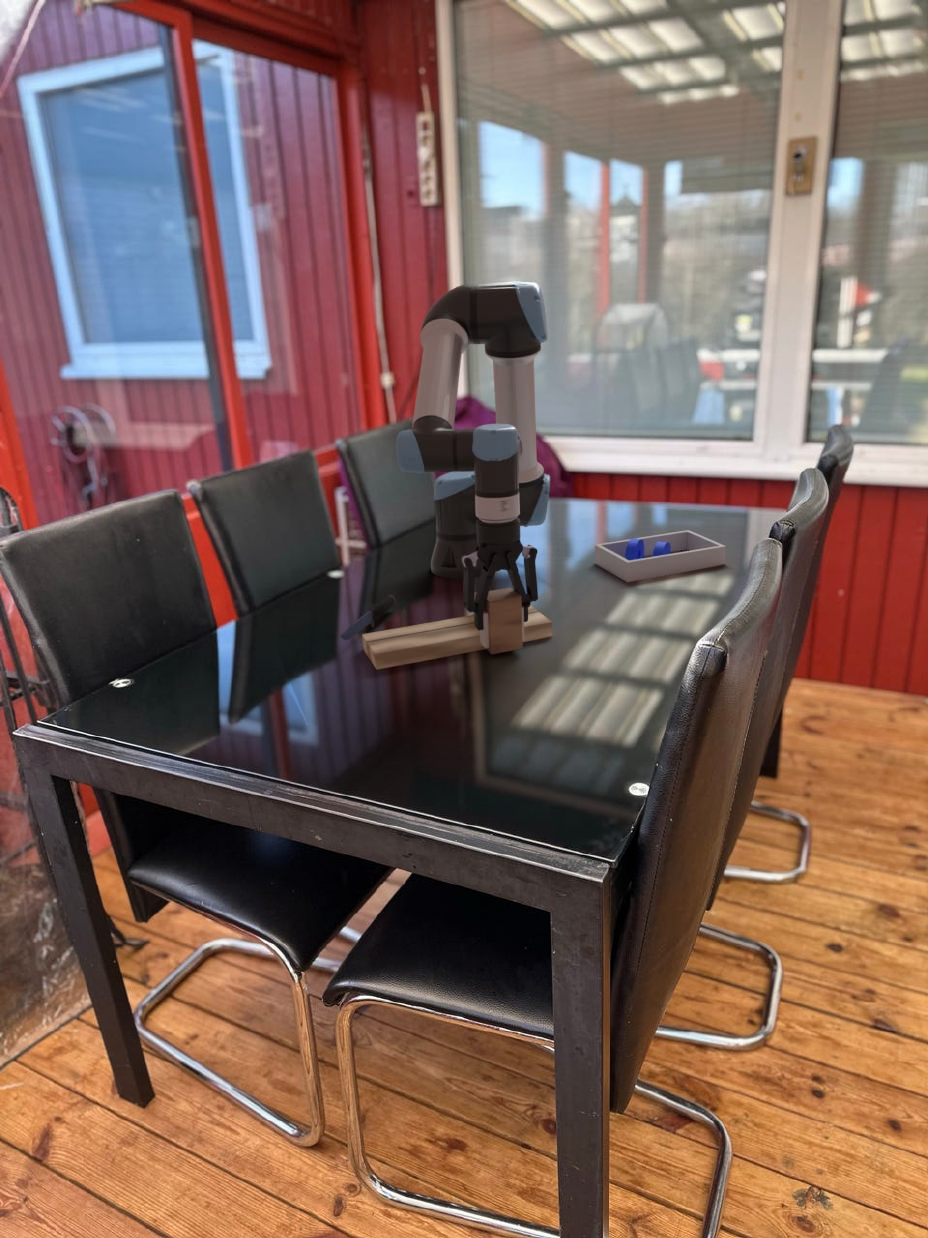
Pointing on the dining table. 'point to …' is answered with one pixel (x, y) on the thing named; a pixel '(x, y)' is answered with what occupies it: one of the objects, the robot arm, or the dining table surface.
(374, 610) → the knife
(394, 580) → the dining table surface
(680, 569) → the grey rectangular tray
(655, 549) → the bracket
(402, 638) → the board
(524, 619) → the robot arm
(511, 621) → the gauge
